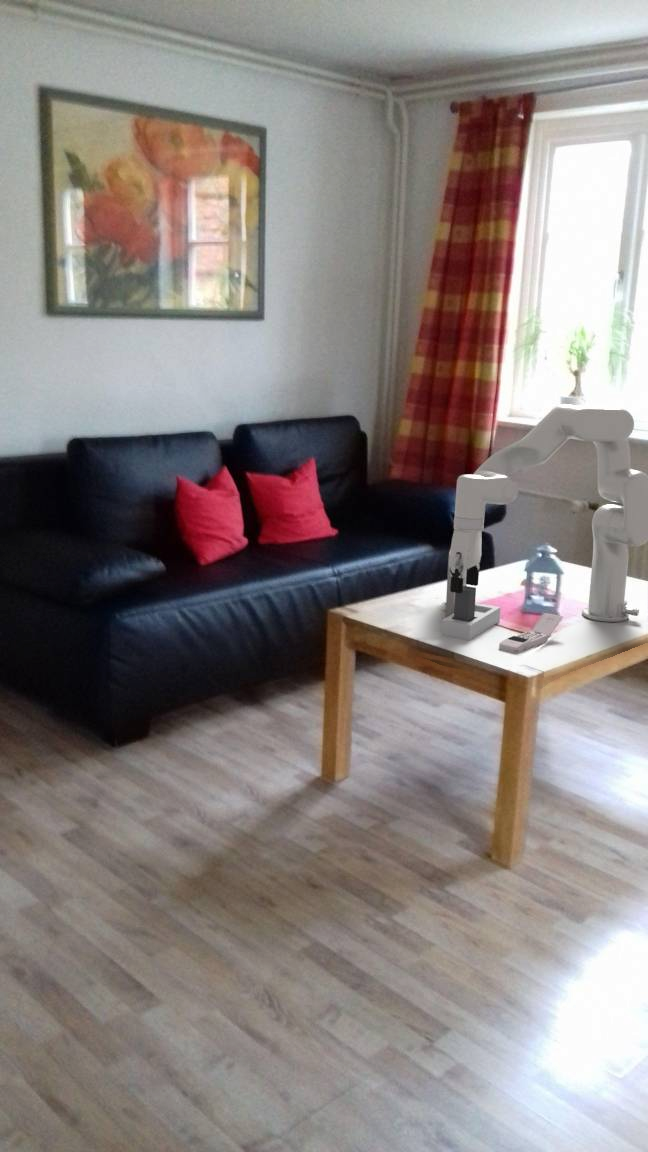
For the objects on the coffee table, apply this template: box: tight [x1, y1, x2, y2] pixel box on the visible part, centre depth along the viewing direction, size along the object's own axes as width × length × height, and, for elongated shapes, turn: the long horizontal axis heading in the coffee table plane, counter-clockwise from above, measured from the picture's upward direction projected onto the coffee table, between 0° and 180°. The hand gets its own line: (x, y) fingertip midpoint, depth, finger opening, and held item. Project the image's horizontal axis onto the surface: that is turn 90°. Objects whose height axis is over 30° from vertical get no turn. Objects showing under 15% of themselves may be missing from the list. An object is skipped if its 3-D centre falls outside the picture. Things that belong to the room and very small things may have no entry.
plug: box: [454, 585, 477, 622], centre depth 266 cm, size 5×4×12 cm
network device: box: [441, 548, 468, 618], centre depth 286 cm, size 26×9×20 cm, turn 168°
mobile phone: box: [498, 612, 564, 654], centre depth 261 cm, size 6×6×25 cm
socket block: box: [440, 602, 502, 641], centre depth 271 cm, size 8×20×5 cm, turn 148°
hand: (464, 588), depth 264 cm, fingers open, 9 cm apart
